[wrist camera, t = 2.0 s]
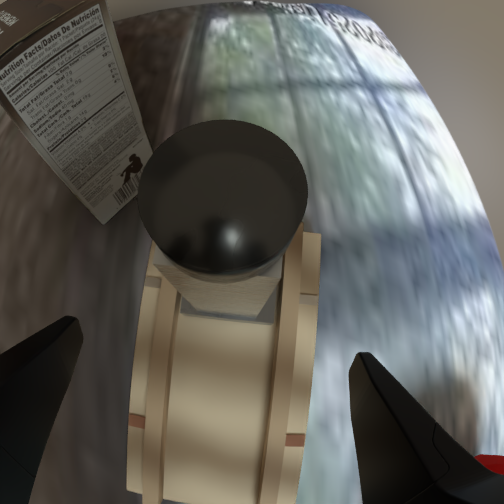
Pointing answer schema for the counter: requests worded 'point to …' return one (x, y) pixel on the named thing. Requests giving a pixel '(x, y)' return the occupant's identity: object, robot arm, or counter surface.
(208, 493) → the fader track
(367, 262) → the counter surface
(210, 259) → the fader knob
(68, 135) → the coffee box
